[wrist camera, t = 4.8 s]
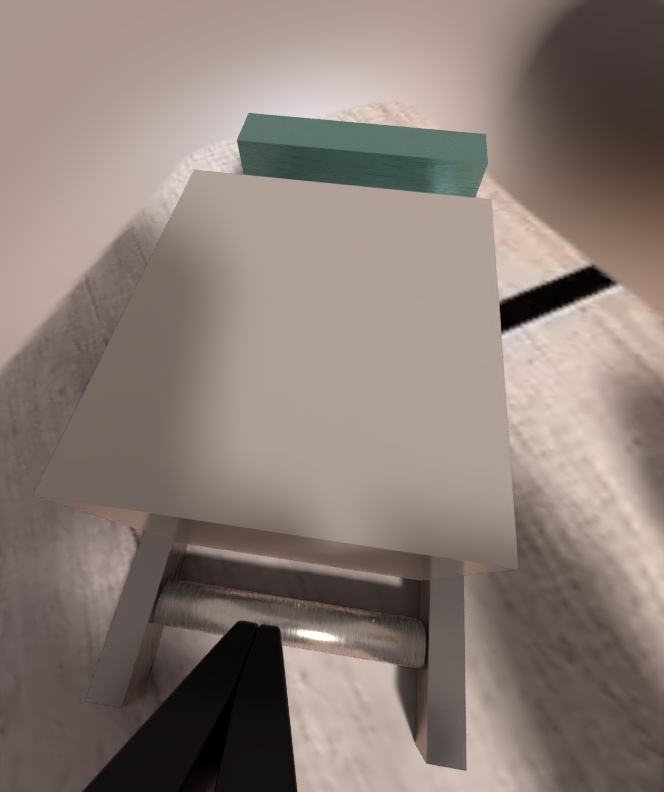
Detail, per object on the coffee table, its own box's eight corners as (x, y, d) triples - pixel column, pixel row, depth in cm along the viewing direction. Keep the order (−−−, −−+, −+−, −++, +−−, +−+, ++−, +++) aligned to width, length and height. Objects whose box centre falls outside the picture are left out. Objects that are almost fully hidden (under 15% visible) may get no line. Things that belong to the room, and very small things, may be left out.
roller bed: (451, 234, 24) (485, 134, 19) (451, 750, 13) (538, 864, 8) (265, 215, 25) (248, 112, 20) (110, 689, 14) (-32, 754, 8)
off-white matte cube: (420, 580, 14) (518, 569, 7) (179, 542, 14) (33, 495, 7) (427, 351, 18) (491, 199, 11) (244, 329, 19) (194, 169, 12)
